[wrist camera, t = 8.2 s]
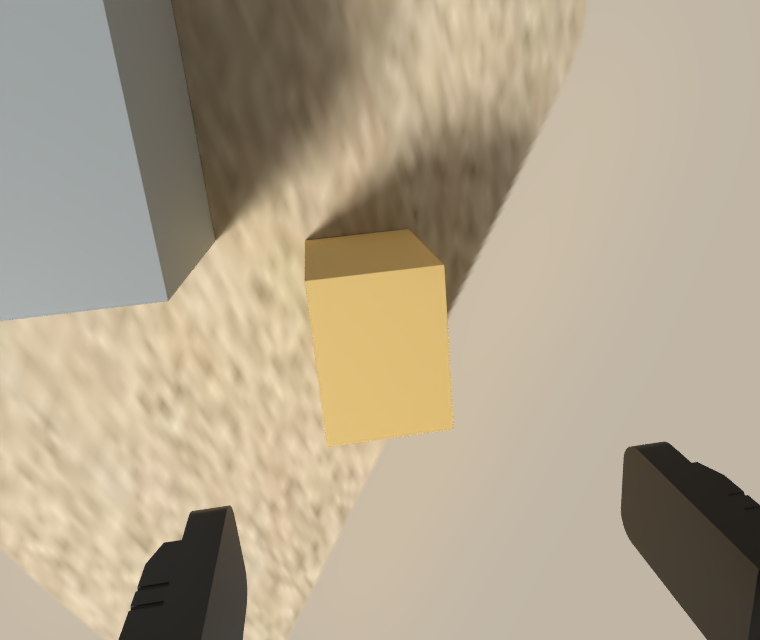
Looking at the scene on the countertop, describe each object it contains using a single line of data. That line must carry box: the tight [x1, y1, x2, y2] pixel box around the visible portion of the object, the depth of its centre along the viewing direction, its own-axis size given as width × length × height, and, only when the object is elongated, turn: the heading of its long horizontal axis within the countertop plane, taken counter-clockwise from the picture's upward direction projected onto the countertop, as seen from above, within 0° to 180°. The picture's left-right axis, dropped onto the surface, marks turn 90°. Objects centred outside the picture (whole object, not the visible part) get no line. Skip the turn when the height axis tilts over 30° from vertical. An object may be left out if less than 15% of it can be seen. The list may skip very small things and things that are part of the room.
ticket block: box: [0, 0, 215, 321], centre depth 18 cm, size 12×8×9 cm, turn 5°
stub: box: [305, 229, 454, 447], centre depth 23 cm, size 6×4×7 cm
